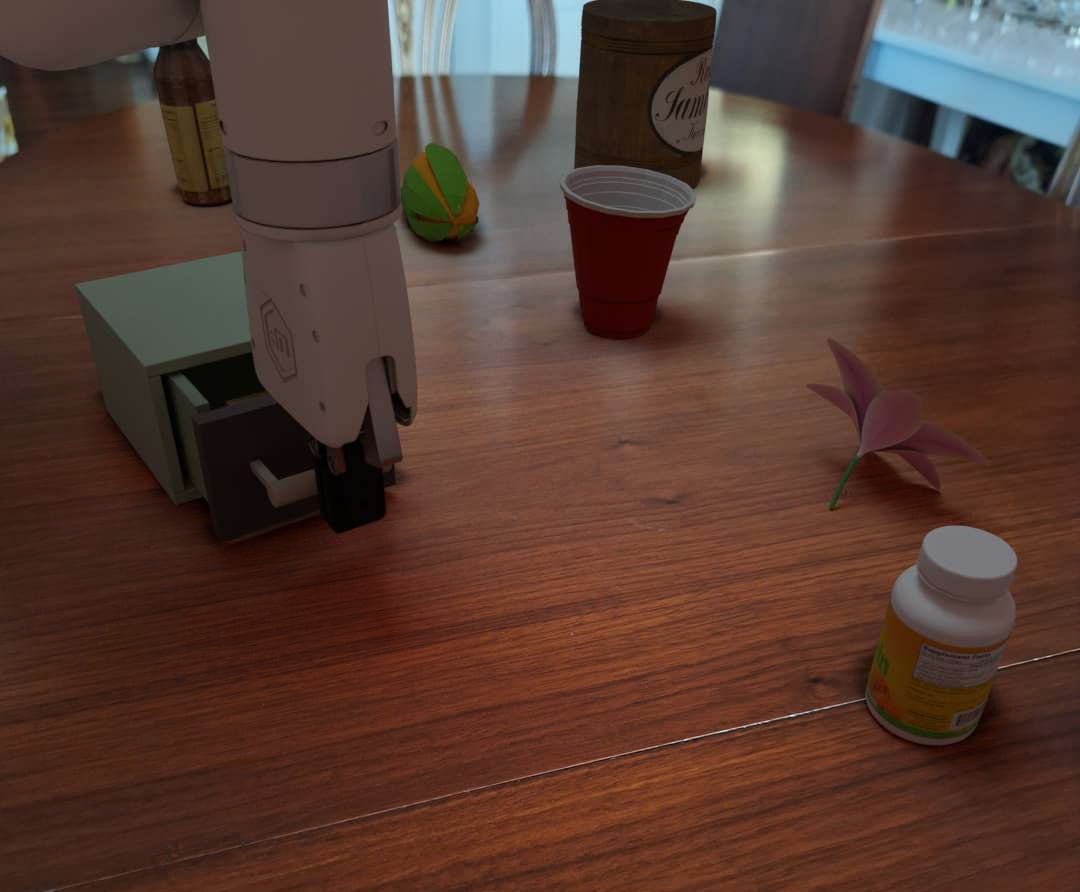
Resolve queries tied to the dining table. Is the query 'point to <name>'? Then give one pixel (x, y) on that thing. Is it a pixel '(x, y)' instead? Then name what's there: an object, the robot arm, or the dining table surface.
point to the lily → (890, 420)
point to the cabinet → (162, 346)
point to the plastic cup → (622, 242)
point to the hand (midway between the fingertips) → (354, 519)
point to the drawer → (241, 447)
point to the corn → (439, 196)
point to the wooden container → (644, 85)
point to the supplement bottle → (943, 637)
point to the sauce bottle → (192, 122)
